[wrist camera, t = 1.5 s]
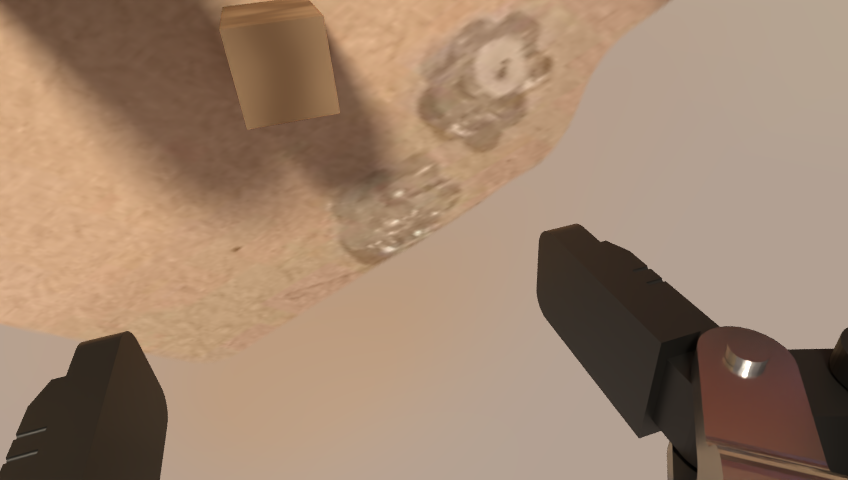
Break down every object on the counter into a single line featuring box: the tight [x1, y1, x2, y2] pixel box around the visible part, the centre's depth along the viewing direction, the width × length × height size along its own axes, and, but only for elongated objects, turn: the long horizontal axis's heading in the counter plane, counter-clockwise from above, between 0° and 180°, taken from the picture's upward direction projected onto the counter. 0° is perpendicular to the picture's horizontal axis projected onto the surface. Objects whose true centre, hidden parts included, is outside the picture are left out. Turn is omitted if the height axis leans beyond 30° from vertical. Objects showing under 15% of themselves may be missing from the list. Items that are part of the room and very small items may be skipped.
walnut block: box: [219, 0, 340, 130], centre depth 30 cm, size 5×5×8 cm
